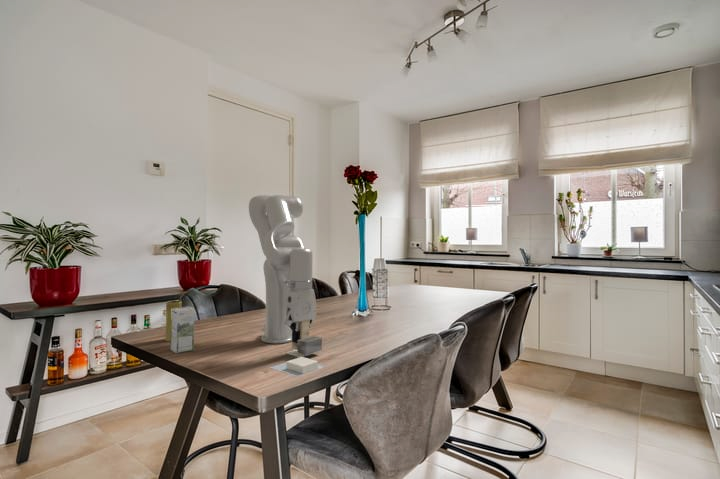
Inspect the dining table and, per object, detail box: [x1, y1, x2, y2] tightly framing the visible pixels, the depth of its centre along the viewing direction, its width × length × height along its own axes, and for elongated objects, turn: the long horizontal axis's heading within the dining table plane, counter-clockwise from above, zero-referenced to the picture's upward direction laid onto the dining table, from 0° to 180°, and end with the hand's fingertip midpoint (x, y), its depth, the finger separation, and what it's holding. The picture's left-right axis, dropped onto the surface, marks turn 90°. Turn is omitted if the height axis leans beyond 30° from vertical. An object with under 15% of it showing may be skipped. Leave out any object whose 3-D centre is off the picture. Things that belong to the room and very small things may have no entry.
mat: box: [269, 362, 325, 378], centre depth 114 cm, size 12×11×1 cm
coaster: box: [285, 349, 315, 358], centre depth 127 cm, size 7×6×1 cm
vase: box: [164, 300, 183, 343], centre depth 145 cm, size 6×6×14 cm
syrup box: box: [169, 306, 195, 354], centre depth 131 cm, size 6×6×14 cm
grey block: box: [291, 320, 323, 356], centre depth 126 cm, size 9×7×10 cm
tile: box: [285, 357, 319, 374], centre depth 112 cm, size 2×6×7 cm
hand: (300, 340), depth 127 cm, fingers closed on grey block, 3 cm apart
